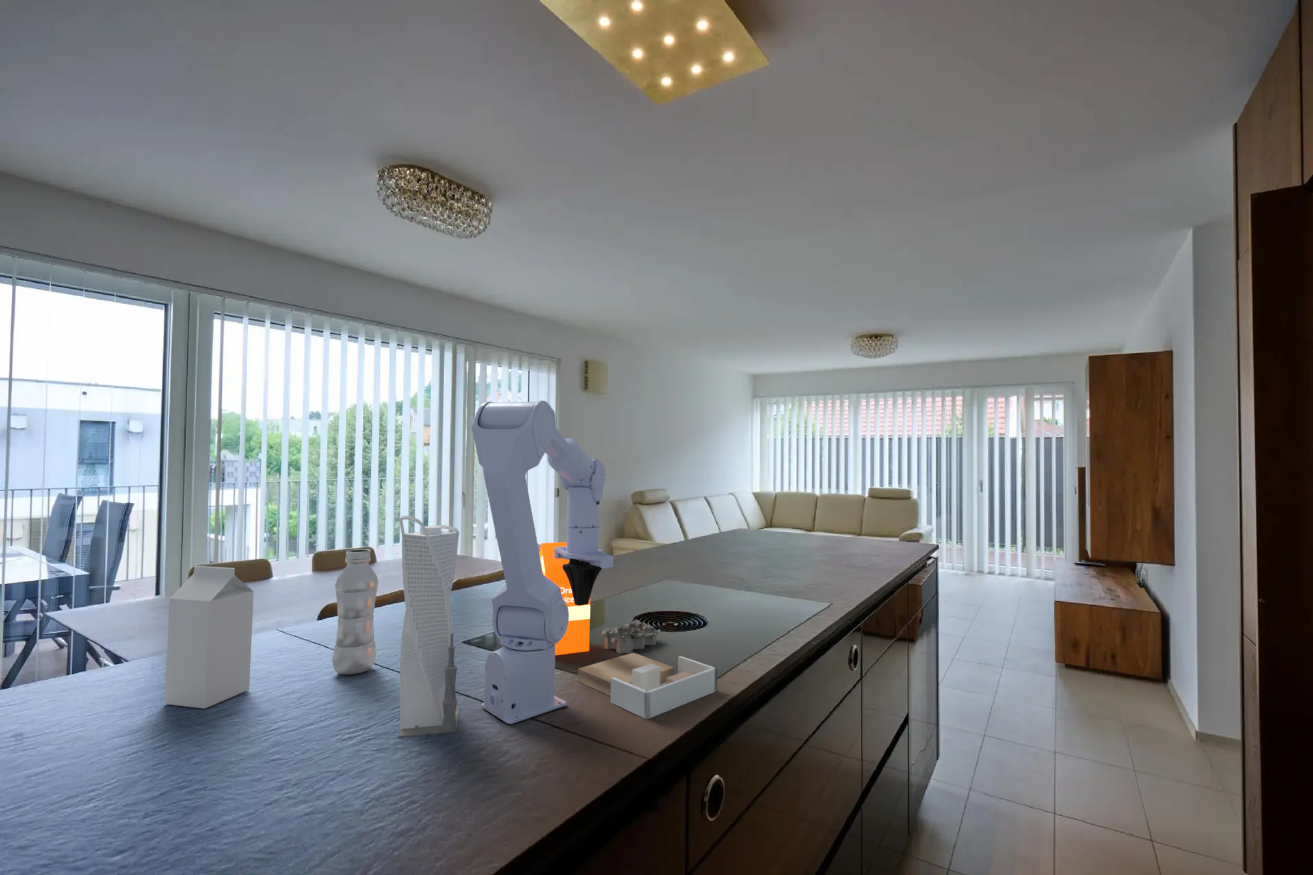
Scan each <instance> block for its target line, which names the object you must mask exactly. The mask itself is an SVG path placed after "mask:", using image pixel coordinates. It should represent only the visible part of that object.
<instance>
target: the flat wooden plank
mask: <svg viewBox="0 0 1313 875" xmlns="http://www.w3.org/2000/svg"><path fill="white" fill-rule="evenodd" d="M648 664H654V665H657V666H659V667H660V684H661V683H664V682H666V678H667V677H670V676H673V675H675V666H672V665H669V664H665V663H663V662H660V661H657V660H655V659H652V658H649V657H647V656H643V655H641V654H639V653H636V652H631V653H626V654H624V655H620V656H617V657H614V658H609V659H607V660H604V661H600V662H596V663H592V664H590V665H589V664H588V665H586V666H582V667H579V668H578V669H577V682H579V683H580V684H583V685H585V686H588V687H590V688H592V689H593V690H596V691H598V692H600V693H603V694H604V695H605V694H606V695H608V696H610V697H611V678H613V677H615V678H617V679H620V680H622V681H624V682H627V683H629V684H632V670H633V669H636V668H639V667H642V666H645V665H648Z"/></svg>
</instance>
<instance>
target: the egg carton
mask: <svg viewBox="0 0 1313 875" xmlns="http://www.w3.org/2000/svg"><path fill="white" fill-rule="evenodd" d="M660 632H661V629H657V630H656V629H655V626H654V625H652V626H651V625H650V624H647V623H645V622H643V623H642V622H641V621H640V620H639V619H635V620H634V621H631V622H629V623H625V624H623V623H621V624H620V625H618V626H614V627H612V628H610V627H608V628H607V627H605V628H603V629H602V631H601V633H600V635H601V636H604V642H603V644H604V645H603V647H604V649H606V650H616V653H618V654H630V653H634V652H633V650H643V649H644V648H645V646H656V645H657V636H659V635H660Z"/></svg>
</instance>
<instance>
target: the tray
mask: <svg viewBox="0 0 1313 875" xmlns="http://www.w3.org/2000/svg"><path fill="white" fill-rule="evenodd" d="M677 660H678V661H677V674H678V673H681V672H686V673H689V674H692V675H691V676H688V677H685V678H683V679H680V680H677V681H674V682H672V683H669V684H666V682H664V683H661V684H660V687H658V688H655V689H652V690H649V691H646V690H644V689H641V688H639V687H636V686H634V685H632V684H629V683H627V682H624V681H622V680H620V679H617V678H615V677H613V678H611V696H610V704H613V705H615V706H617V707H620V708H621V709H624V710H626V711H629V712H630V713H633V714H635V715H636V716H639V717H641V718H643V719H644V720H649V719H651V718H654V717H656V716H659V715H662V714H663V713H666V712H669V711H671V710H673V709H676V708H678V707H681V706H684V705H686V704H688V703H690V702H693V701H696V700H698V699H701V698H703V697H706V696H708V695H711V694H714V693H716V692H718V667H715V666H712V665H710V664H709V665H708V664H705V663H703V662H700V661H697V660H693V659H691V658H688V657H685V656H682V655H680V656H679V655H678V657H677Z"/></svg>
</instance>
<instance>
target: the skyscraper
mask: <svg viewBox="0 0 1313 875" xmlns="http://www.w3.org/2000/svg"><path fill="white" fill-rule="evenodd" d="M404 520H407V521H408V520H409V521H411V522H415V523H416V524H418V525H419V526H420V527H419V531H418V532H408V533H406V532H405V527H404V522H403V521H404ZM398 521H399V526H400V532H401V557H402V558H401V560H402V562H401V564H402V565H401V566H402V584H403V585H402V586H403V595H404V604H405V613H404V619H403V625H402V634H401V642H400V643H401V644H400V659H399V660H400V661H399V662H400V663H399V664H400V666H399V719H400V721H399V726H400V731H399V733H398V737H397V738H405V737H416V736H424V735H434V734H435V735H436V734H444V733H445V734H446V733H455V732H457V728H458V723H459V722H458V721H459V716H460V708H457V704H458V699H457V695H456V694H457V692H456V683H457V671H458V666H456V664H455V658H454V657H455V650H456V646H454V627H453V626H454V625H453V614H452V610H451V608H452V607H451V603H450V599H451V598H450V597H451V594H452V588H453V583H454V578H455V573H456V572H455V571H456V565H457V564H456V563H457V556H458V547H459V536H460V532H459V531H460V530H459V529H458V528H456V527H454V526H451V525H446V524H445V525H444V524H436V525H424V523H423V522H422V521H421V520H420V519H418V518H416V517H414V516H410V515H402V516H400V518H399V519H398ZM444 529H445V530H449V531H444ZM452 531H453V532H452Z"/></svg>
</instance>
